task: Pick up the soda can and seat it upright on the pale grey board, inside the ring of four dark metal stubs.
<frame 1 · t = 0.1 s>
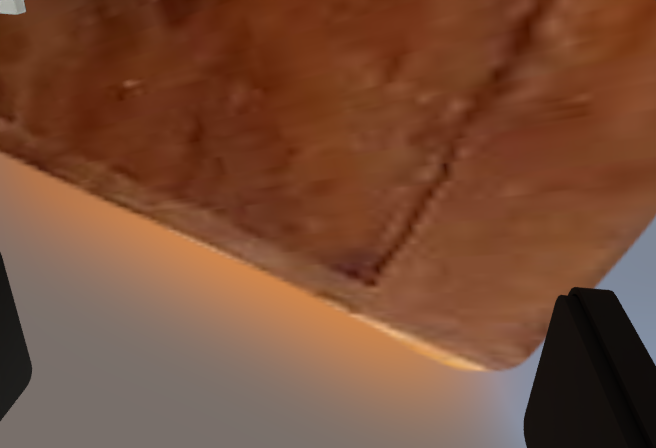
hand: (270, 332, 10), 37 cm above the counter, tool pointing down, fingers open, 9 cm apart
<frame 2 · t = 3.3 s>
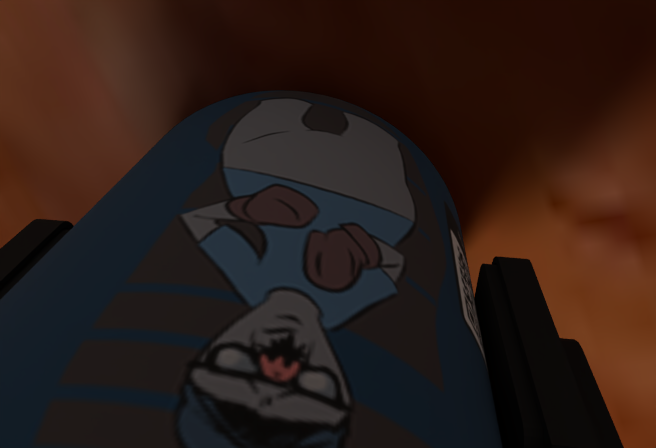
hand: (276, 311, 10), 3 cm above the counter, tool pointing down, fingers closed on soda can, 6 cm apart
soda can: (302, 220, 14), on the counter, touching gripper
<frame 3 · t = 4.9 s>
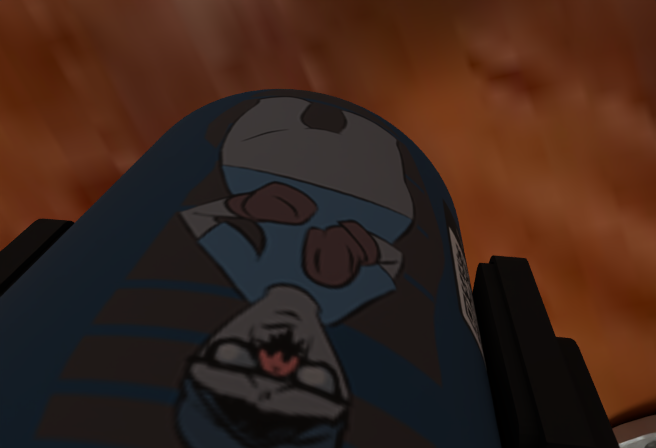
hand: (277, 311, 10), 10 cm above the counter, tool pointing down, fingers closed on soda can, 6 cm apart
soda can: (301, 218, 14), point 7 cm above the counter, touching gripper
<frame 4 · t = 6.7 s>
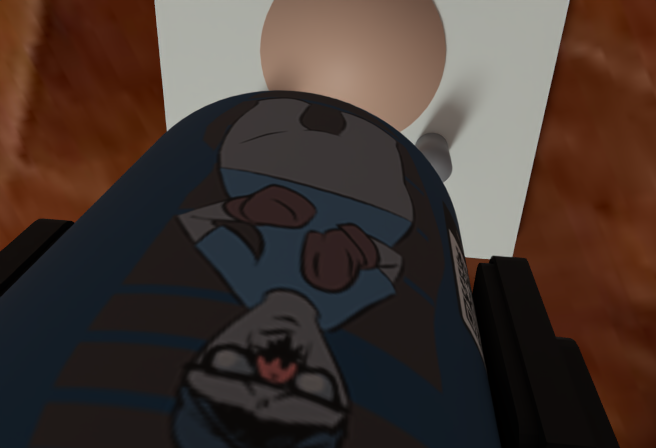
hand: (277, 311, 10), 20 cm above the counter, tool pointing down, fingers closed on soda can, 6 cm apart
soda can: (300, 220, 13), point 16 cm above the counter, touching gripper
stub board: (353, 51, 28), on the counter
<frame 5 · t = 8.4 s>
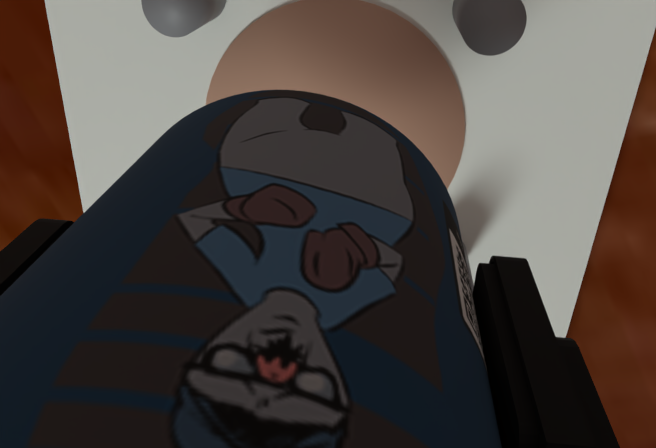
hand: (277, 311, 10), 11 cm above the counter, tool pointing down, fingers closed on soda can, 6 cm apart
soda can: (300, 219, 13), point 7 cm above the counter, touching gripper
stub board: (335, 123, 20), on the counter
when the fingers open (6 cm above the counter, at t = 9.9 s): soda can drops 1 cm, resting on stub board.
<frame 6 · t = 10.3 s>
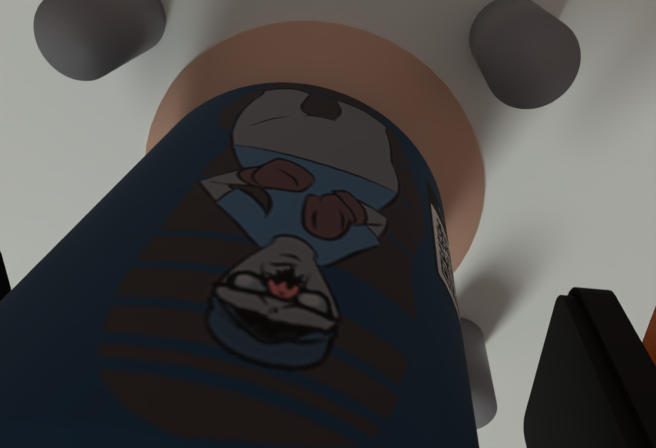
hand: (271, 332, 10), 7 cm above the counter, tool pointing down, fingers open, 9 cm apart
soda can: (300, 202, 15), point 1 cm above the counter, touching stub board
stub board: (316, 176, 16), on the counter
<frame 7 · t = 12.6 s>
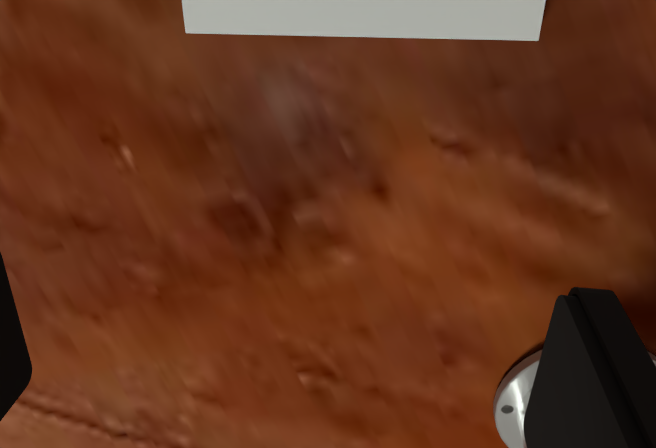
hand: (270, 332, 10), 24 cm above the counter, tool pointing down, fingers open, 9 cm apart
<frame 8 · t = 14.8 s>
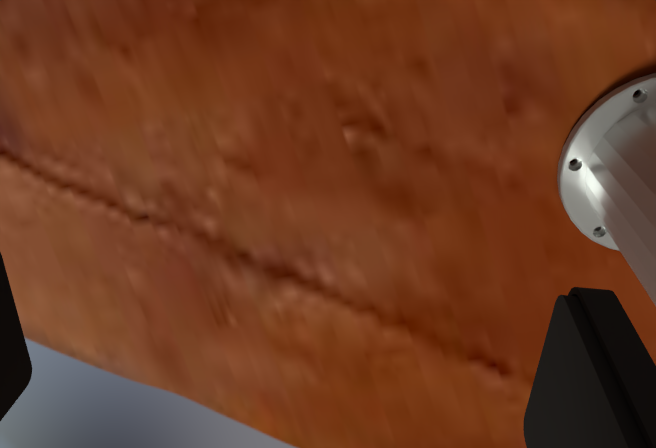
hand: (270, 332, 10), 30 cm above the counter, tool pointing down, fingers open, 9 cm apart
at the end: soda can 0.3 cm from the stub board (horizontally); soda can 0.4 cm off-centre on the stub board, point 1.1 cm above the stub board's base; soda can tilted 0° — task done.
